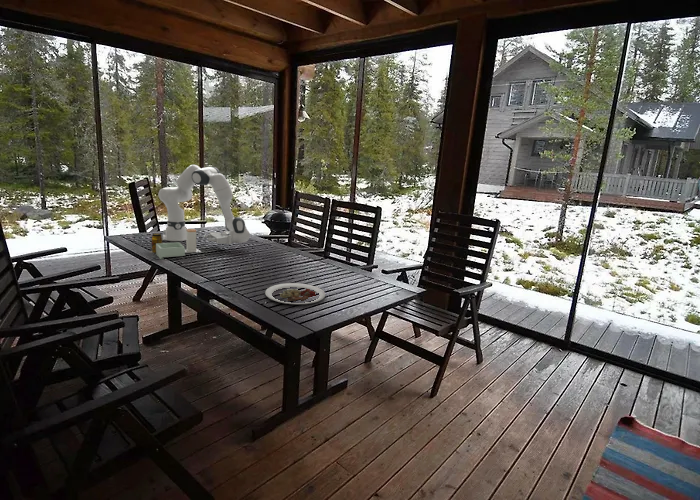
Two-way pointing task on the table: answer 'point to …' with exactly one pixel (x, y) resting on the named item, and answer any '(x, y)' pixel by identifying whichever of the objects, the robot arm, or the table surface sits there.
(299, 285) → the plated food
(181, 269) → the table surface
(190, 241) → the white tall cylinder
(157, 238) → the condiment
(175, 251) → the bin
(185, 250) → the stud base
